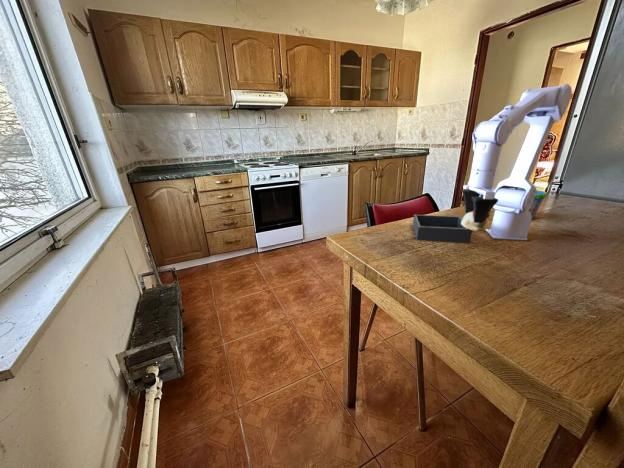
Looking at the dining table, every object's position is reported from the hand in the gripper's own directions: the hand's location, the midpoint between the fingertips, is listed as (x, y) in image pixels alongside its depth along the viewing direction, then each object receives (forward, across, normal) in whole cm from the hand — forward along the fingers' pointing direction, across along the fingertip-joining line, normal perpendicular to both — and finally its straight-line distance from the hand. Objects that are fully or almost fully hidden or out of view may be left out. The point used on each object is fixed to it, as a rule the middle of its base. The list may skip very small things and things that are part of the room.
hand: (473, 218), depth 73 cm
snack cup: (+10, -36, +29) cm, 48 cm away
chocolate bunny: (+3, 0, 0) cm, 3 cm away
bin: (+10, -12, -6) cm, 16 cm away
